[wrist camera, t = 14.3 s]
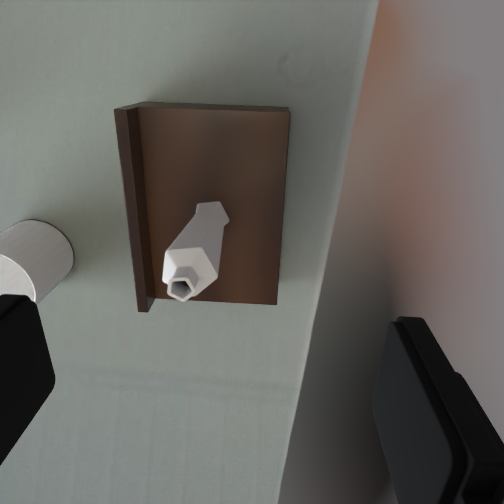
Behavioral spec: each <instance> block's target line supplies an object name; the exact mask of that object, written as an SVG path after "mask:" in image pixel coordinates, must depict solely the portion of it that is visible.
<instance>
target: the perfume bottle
mask: <svg viewBox="0 0 504 504" xmlns="http://www.w3.org/2000/svg"><path fill="white" fill-rule="evenodd" d="M228 222H229V218H228V216H227V214H226V212H225V210H224V208H223V206H222V204H221V203H220V202H219V201H216V202H206V203H198V204H197V208H196V214H195V215H194V217H193V218H192V219H191V220H190V222H189V223H188V224H187V225H186V227H185V228H184V229H183V230H182V232H181V233H180V234H179V235H178V237H177V238H176V239H175V240H174V242H173V243H172V244H171V245H170V247H169V248H168V249H167V250H166V252H165V258H164V267H163V277H162V281H163V282H164V283H166V284H168V289H167V294H168V295H169V296H171V297H173V298H175V299H177V300H179V301H182V302H185V301H187V300H188V299H189V298H190V297H192V296H196V295H198V294H199V293H200V292H201V291H202V290H204V289H205V288H206V287H207V286H209V285H210V284H211V283H212V282H213V281H215V280H216V279H217V278H218V271H219V263H220V255H221V247H222V238H223V230H224V226H225V225H226V224H227V223H228Z"/></svg>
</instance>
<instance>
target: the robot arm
mask: <svg viewBox="0 0 504 504" xmlns="http://www.w3.org/2000/svg"><path fill="white" fill-rule="evenodd" d="M54 385H55V374H54V370H53V366H52V362H51V358H50V354H49V351H48V347H47V343H46V339H45V335H44V331H43V327H42V324H41V320H40V316H39V312H38V308H37V305H36V303H35V302H34V301H31V299H30V298H29V297H28V296H27V295H16V294H2V295H0V465H1V464H2V463H3V461H4V460H5V458H6V457H7V455H8V454H9V452H10V451H11V449H12V448H13V447H14V445H15V444H16V442H17V441H18V439H19V438H20V436H21V435H22V434H23V432H24V431H25V429H26V428H27V426H28V425H29V423H30V422H31V421H32V419H33V418H34V416H35V415H36V413H37V412H38V410H39V409H40V407H41V406H42V405H43V403H44V402H45V400H46V399H47V397H48V396H49V394H50V393H51V392H52V390H53V388H54ZM372 411H373V415H374V419H375V422H376V426H377V429H378V433H379V436H380V440H381V443H382V447H383V450H384V454H385V457H386V461H387V465H388V468H389V472H390V475H391V479H392V482H393V486H394V489H395V493H396V496H397V500H398V503H399V504H504V444H503V442H502V440H501V439H500V437H499V435H498V433H497V432H496V430H495V429H494V427H493V425H492V424H491V422H490V420H489V419H488V417H487V415H486V414H485V412H484V411H483V409H482V407H481V406H480V404H479V402H478V401H477V399H476V397H475V396H474V394H473V392H472V391H471V389H470V388H469V386H468V384H467V382H466V381H465V379H464V378H463V377H462V375H461V374H459V373H457V372H455V371H454V369H453V368H452V366H451V365H450V363H449V361H448V359H447V357H446V356H445V354H444V352H443V351H442V349H441V347H440V346H439V344H438V343H437V341H436V339H435V337H434V336H433V334H432V332H431V330H430V329H429V327H428V325H427V324H426V322H425V320H424V319H423V318H420V317H403V316H399V317H398V318H397V319H396V322H390V323H389V326H388V330H387V334H386V339H385V343H384V347H383V352H382V356H381V361H380V365H379V369H378V373H377V378H376V382H375V386H374V391H373V395H372Z"/></svg>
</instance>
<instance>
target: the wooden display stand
mask: <svg viewBox="0 0 504 504" xmlns="http://www.w3.org/2000/svg"><path fill="white" fill-rule="evenodd" d="M114 115H115V123H116V132H117V140H118V148H119V157H120V165H121V173H122V182H123V190H124V198H125V206H126V215H127V223H128V231H129V240H130V248H131V256H132V265H133V273H134V281H135V290H136V298H137V306H138V312H149V310H150V308H151V306H152V304H153V302H154V300H155V298H159V299H175V298H173V297H171V296H169V295H168V294H167V289H168V284H166V283H164V282H163V281H162V277H163V267H164V258H165V252H166V250H167V249H168V248H169V247H170V245H171V244H172V243H173V242H174V240H175V239H176V238H177V237H178V235H179V234H180V233H181V232H182V230H183V229H184V228H185V227H186V225H187V224H188V223H189V222H190V220H191V219H192V218H193V217H194V215H195V214H196V208H197V204H198V203H206V202H216V201H219V202H220V203H221V204H222V206H223V208H224V210H225V212H226V214H227V216H228V218H229V222H228V223H227V224H226V225H225V226H224V230H223V238H222V247H221V255H220V263H219V271H218V278H217V279H216V280H215V281H213V282H212V283H211V284H210V285H209V286H207V287H206V288H205V289H204V290H202V291H201V292H200V293H199V294H198V295H196V296H192V297H190V298H189V299H188V300H195V301H213V302H231V303H248V304H266V305H277V295H278V281H279V267H280V253H281V239H282V224H283V210H284V196H285V182H286V168H287V154H288V140H289V126H290V111H289V108H288V107H271V106H245V105H219V104H192V103H166V102H140V103H136V104H132V105H128V106H124V107H120V108H117V109H114Z"/></svg>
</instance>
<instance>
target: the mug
mask: <svg viewBox="0 0 504 504" xmlns="http://www.w3.org/2000/svg"><path fill="white" fill-rule="evenodd" d="M73 262H74V261H73V251H72V248H71V245H70V243H69V242H68V240H67V239H66V237H65V236H64V235H63V234H62V233H61V232H60V231H59V230H57V229H56V228H55V227H53V226H51V225H49V224H47V223H44V222H40V221H35V220H26V221H21V222H18V223H16V224H14V225H13V226H11V227H9V228H8V229H6V230H4V231H3V232H1V233H0V295H2V294H16V295H27V296H28V297H29V298H30V299H31V301H34V302H35V303H36V305H37V304H38V303H39V302H40V301H41V300H42V299H43V298H44V297H45V296H47V295H48V294H49V293H50V292H51V291H52V290H53V289H54V288H55V287H56V286H57V285H58V284H59V283H60V282H61V281H62V280H63V279H64V278H65V277H66V276H67V274H68V273H69V272H70V271H71V269H72V266H73Z"/></svg>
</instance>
